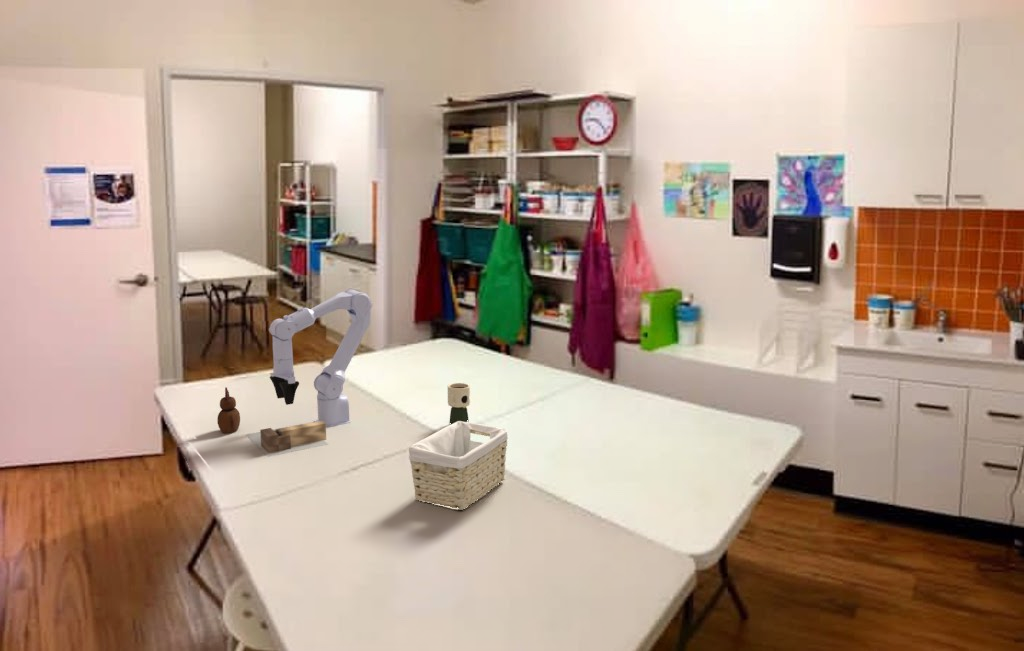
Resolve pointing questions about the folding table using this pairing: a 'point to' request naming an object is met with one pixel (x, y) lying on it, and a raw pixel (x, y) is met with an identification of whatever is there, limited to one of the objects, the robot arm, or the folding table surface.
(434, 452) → the storage basket
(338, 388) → the robot arm
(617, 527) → the folding table surface
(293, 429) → the rail
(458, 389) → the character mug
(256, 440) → the mat
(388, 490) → the folding table surface
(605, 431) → the folding table surface
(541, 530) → the folding table surface
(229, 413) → the wooden figurine
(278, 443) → the bracket
